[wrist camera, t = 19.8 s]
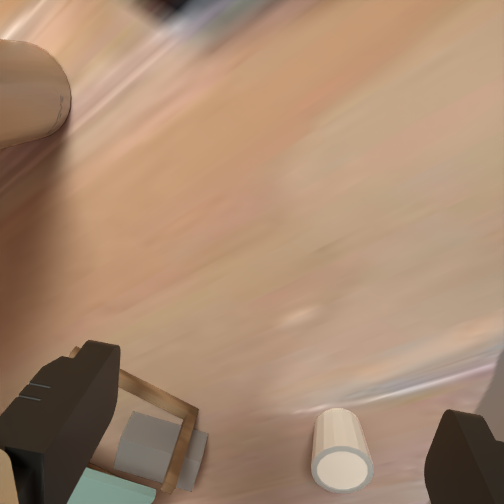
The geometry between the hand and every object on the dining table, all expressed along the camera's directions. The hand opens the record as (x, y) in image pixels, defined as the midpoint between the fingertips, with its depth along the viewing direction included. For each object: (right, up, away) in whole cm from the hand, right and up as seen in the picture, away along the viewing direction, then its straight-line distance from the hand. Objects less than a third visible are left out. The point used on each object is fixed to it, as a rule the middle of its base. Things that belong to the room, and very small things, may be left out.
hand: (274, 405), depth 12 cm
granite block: (-17, -20, +48) cm, 54 cm away
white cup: (+10, -18, +47) cm, 51 cm away
